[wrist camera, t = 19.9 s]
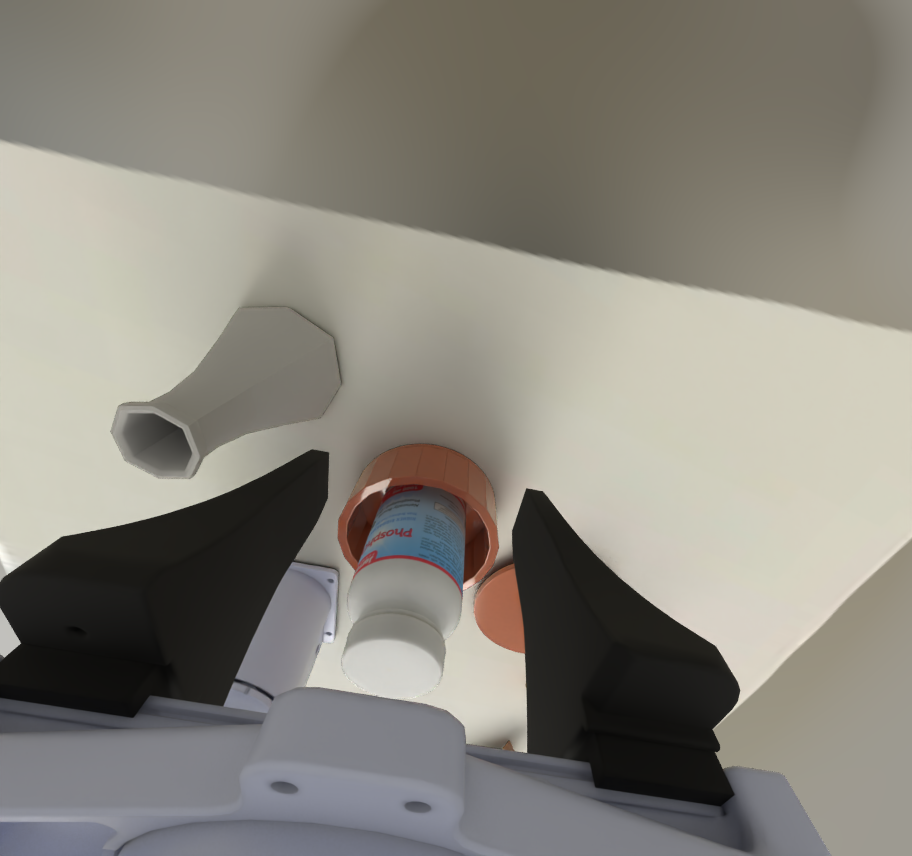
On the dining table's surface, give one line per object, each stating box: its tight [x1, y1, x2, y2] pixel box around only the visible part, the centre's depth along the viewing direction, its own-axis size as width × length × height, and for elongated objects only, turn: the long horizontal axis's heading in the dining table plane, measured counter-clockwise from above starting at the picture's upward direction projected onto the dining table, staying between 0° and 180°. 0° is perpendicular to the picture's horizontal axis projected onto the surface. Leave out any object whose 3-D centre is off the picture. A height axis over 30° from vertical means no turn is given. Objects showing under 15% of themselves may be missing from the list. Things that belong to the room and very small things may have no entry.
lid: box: [474, 563, 525, 654], centre depth 28 cm, size 11×11×5 cm
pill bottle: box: [341, 484, 466, 699], centre depth 21 cm, size 6×6×11 cm
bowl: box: [338, 444, 499, 591], centre depth 25 cm, size 10×10×4 cm
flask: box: [110, 307, 341, 479], centre depth 18 cm, size 7×7×10 cm
